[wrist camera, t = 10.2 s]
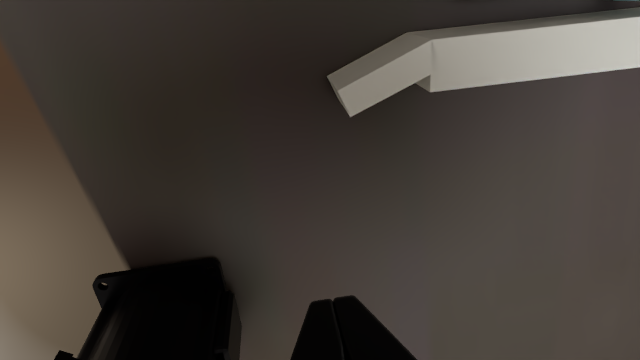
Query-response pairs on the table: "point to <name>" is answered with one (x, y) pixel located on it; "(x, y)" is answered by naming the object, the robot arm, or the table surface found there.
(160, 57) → the table surface
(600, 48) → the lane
